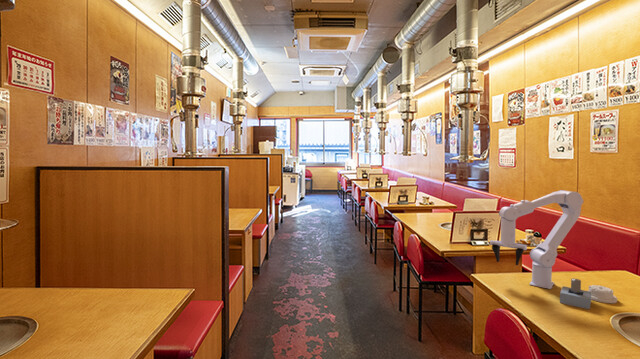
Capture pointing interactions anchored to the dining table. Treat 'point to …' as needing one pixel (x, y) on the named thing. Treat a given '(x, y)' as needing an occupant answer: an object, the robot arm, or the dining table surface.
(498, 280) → the dining table surface
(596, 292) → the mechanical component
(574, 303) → the block
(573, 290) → the steel pin
